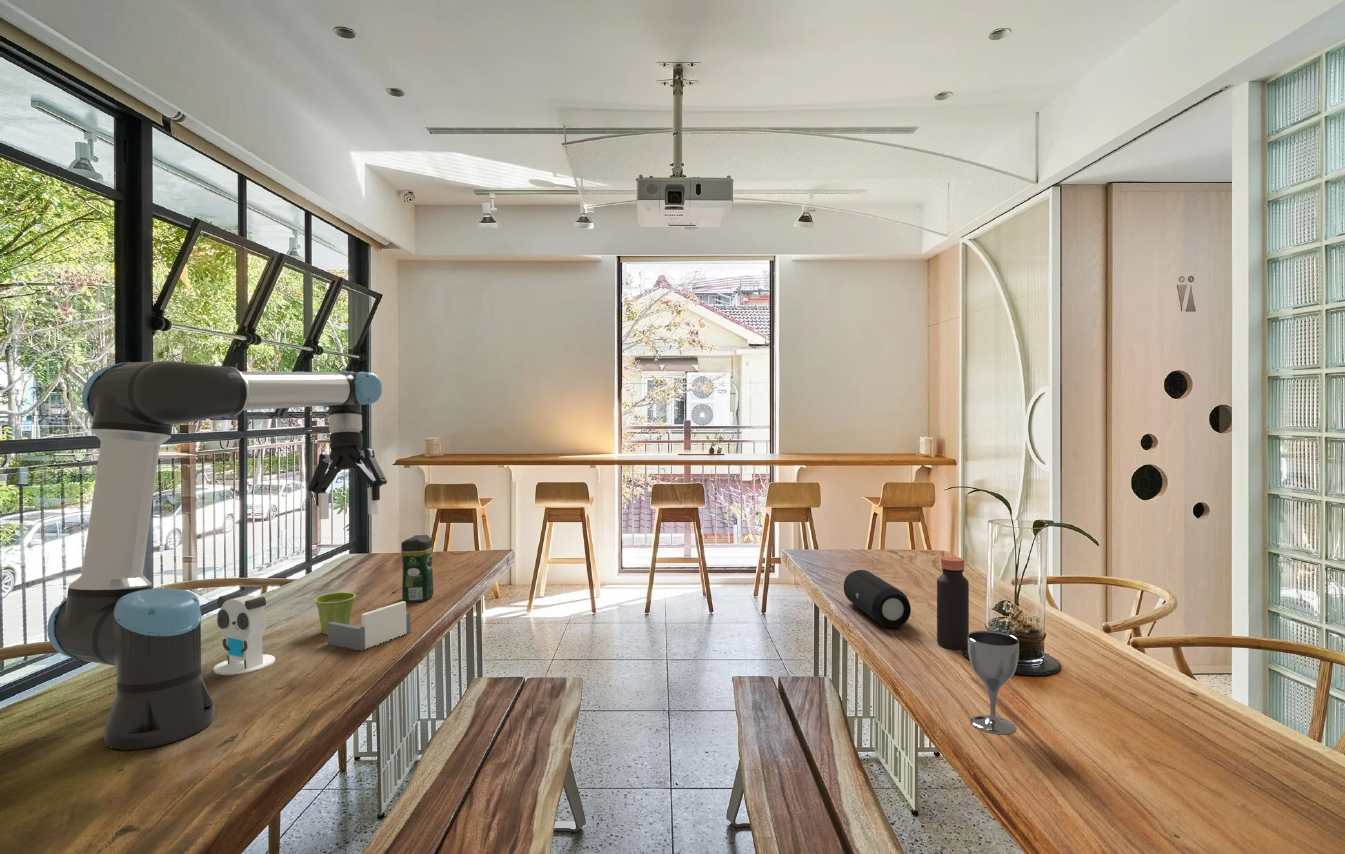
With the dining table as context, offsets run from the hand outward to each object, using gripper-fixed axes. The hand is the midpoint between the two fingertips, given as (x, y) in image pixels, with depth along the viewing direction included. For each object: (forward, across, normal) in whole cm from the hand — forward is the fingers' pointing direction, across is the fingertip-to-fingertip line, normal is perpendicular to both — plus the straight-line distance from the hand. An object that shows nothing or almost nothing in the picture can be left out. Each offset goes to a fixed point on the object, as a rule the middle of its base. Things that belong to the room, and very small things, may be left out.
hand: (348, 516), depth 168 cm
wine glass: (+48, -139, +24) cm, 149 cm away
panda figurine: (+31, +12, +20) cm, 39 cm away
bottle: (+42, -142, -16) cm, 149 cm away
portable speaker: (+38, -127, -37) cm, 138 cm away
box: (+30, -5, 0) cm, 30 cm away
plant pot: (+28, +7, -4) cm, 29 cm away
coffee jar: (+25, +3, -35) cm, 43 cm away
